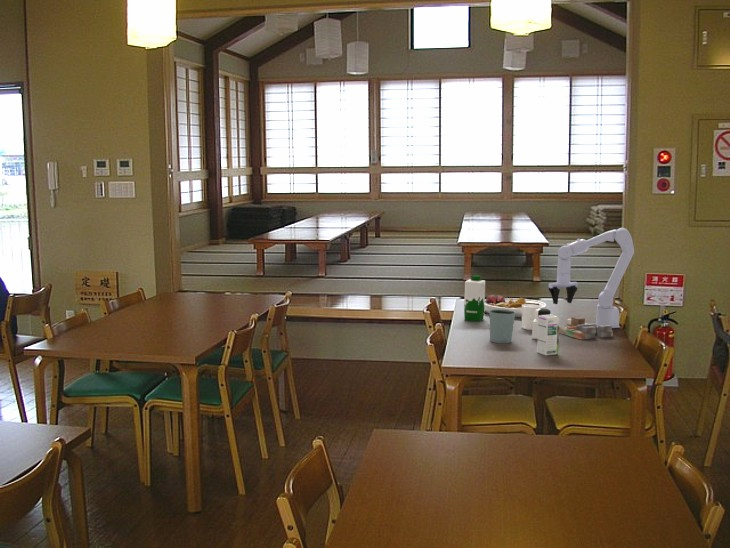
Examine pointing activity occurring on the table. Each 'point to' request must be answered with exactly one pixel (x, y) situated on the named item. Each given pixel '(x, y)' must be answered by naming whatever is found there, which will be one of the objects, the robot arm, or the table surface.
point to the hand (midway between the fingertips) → (562, 303)
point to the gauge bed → (587, 331)
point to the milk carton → (474, 299)
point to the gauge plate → (579, 327)
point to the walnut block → (577, 321)
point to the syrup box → (548, 334)
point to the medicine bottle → (535, 323)
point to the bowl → (509, 304)
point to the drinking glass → (501, 325)
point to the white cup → (528, 315)
